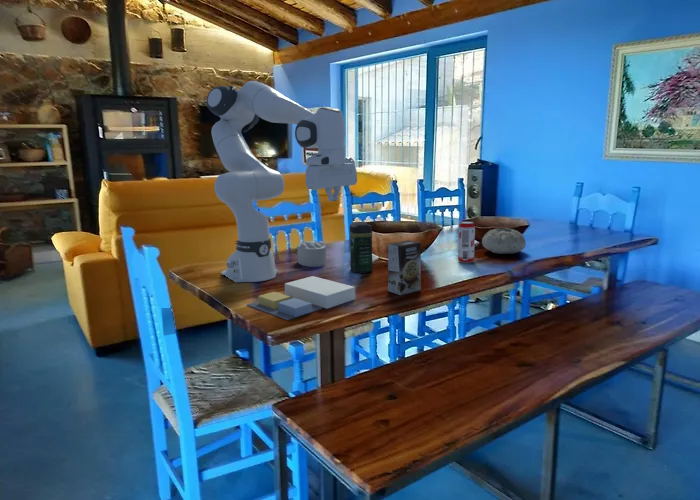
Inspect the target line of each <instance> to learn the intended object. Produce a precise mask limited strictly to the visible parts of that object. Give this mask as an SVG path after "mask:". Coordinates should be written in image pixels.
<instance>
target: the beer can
mask: <svg viewBox="0 0 700 500" xmlns="http://www.w3.org/2000/svg"><path fill="white" fill-rule="evenodd" d="M457 241H458V245H457V251H458V252H457V259H458V262H459V263H460V262H461V264H472V263H473V262H474V261H475V245H476V244H475V243H476V242H475V241H476V226H475V224H474V221H469V220H467V221H466V220H465V221H464V220H463V221H460V223H459V225H458V240H457Z"/></svg>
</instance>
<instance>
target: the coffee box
mask: <svg viewBox="0 0 700 500" xmlns="http://www.w3.org/2000/svg"><path fill="white" fill-rule="evenodd" d="M387 244H388V245H387V247H388V250H387V252H388V256H387V257H388V259H387V267H388V268H387V269H388V270H387V276H388V277H387V281H388V282H387V285H388V286H387V291H388V292H389V293H393V294H396V295H398V296H403V295H407V294H411V293H414V292H419V291H421V286H422V285H421V284H422V283H421V281H422V280H421V279H422V278H421V273H422V272H421V269H422V265H421V264H422V242H420V241H417V240H416V241H415V240H409V239H408V240H402V241H395V242H390V243H387Z"/></svg>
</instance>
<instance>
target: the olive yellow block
mask: <svg viewBox="0 0 700 500" xmlns="http://www.w3.org/2000/svg"><path fill="white" fill-rule="evenodd" d="M257 296H258V301H259V304H261V305H264V306H267V307H269V308H272V309H278V303H279V302H282V301H285V300H289V299H290V298H291V297H290V296H287V295H285V293H284V294H282V293H280V292H277V291H271V292H268V293H264V294H260V295H257Z"/></svg>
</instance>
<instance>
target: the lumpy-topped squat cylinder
mask: <svg viewBox="0 0 700 500" xmlns="http://www.w3.org/2000/svg"><path fill="white" fill-rule="evenodd" d="M297 262H298V264H299V265H301V266H303V267H310V268H311V267H313V268H317V267H323V266H325V265H326V264H327V247H326V245H325V244H324V242H323V241H322V240H319V241H317V242H316V241H315V240H308V241H303V242H301V243H300V244H297Z"/></svg>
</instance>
